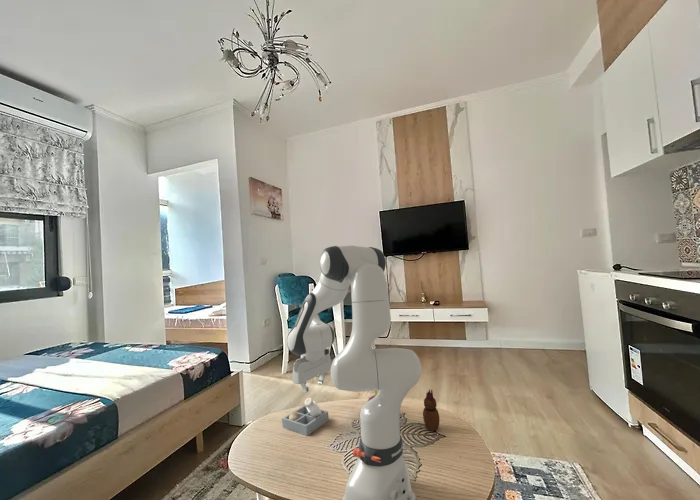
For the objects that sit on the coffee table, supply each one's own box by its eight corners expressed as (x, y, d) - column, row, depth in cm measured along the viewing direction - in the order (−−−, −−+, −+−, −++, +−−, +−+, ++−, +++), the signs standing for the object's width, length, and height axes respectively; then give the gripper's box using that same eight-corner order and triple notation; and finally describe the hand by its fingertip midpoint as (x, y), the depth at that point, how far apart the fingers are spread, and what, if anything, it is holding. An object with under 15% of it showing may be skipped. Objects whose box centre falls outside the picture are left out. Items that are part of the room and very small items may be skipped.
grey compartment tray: (306, 435, 121) (306, 426, 121) (282, 427, 129) (282, 418, 129) (328, 420, 132) (328, 411, 132) (305, 413, 139) (304, 405, 140)
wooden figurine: (442, 432, 117) (438, 391, 117) (426, 433, 117) (423, 392, 117) (437, 423, 124) (434, 384, 124) (422, 424, 124) (419, 385, 124)
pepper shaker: (314, 421, 130) (305, 408, 125) (311, 414, 133) (302, 400, 129) (323, 415, 131) (313, 401, 126) (320, 408, 134) (310, 394, 130)
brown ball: (295, 428, 126) (294, 416, 126) (286, 425, 129) (286, 413, 129) (303, 422, 130) (302, 411, 130) (295, 420, 133) (294, 408, 133)
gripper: (299, 361, 121) (301, 398, 121) (332, 348, 138) (334, 381, 137) (287, 359, 125) (289, 395, 124) (321, 347, 142) (323, 379, 141)
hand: (313, 387), depth 131 cm, fingers open, 8 cm apart
